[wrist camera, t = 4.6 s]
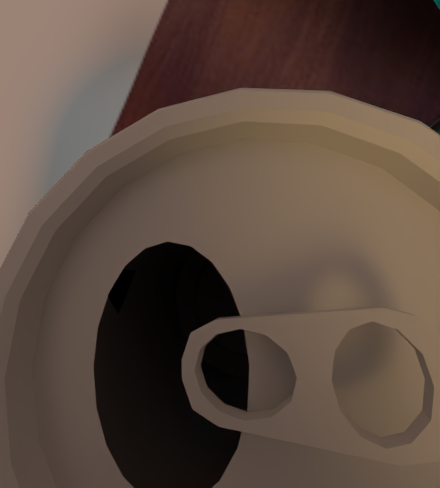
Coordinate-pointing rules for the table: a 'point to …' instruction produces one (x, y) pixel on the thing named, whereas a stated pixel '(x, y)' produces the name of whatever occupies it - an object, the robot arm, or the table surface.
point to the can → (231, 303)
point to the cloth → (437, 3)
